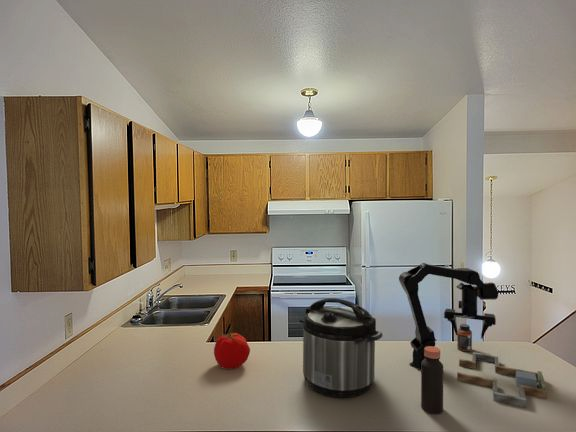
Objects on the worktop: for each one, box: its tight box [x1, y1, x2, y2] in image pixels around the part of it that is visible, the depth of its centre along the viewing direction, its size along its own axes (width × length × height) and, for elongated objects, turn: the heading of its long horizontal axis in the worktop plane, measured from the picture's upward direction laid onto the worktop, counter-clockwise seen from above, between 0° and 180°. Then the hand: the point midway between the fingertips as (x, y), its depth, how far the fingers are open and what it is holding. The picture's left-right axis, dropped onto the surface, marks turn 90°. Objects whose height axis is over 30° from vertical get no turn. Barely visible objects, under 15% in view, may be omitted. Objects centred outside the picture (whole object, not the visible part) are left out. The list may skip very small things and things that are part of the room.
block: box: [515, 371, 538, 388], centre depth 131 cm, size 6×5×4 cm
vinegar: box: [420, 346, 444, 415], centre depth 117 cm, size 7×7×20 cm
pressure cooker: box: [299, 297, 383, 398], centre depth 136 cm, size 30×28×32 cm
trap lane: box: [456, 351, 548, 409], centre depth 135 cm, size 28×34×4 cm
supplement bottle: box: [456, 323, 473, 352], centre depth 163 cm, size 6×6×11 cm
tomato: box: [213, 332, 251, 370], centre depth 150 cm, size 16×14×14 cm
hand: (469, 336), depth 147 cm, fingers open, 9 cm apart
